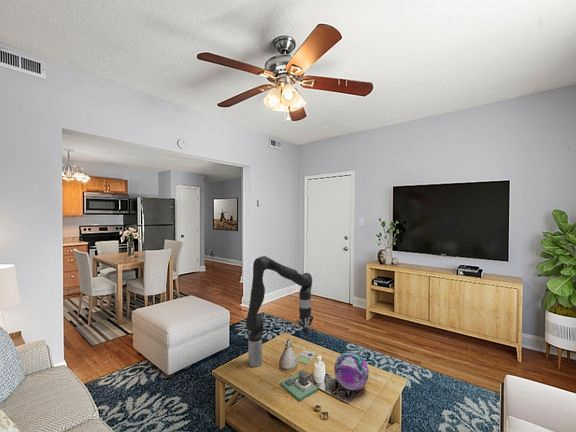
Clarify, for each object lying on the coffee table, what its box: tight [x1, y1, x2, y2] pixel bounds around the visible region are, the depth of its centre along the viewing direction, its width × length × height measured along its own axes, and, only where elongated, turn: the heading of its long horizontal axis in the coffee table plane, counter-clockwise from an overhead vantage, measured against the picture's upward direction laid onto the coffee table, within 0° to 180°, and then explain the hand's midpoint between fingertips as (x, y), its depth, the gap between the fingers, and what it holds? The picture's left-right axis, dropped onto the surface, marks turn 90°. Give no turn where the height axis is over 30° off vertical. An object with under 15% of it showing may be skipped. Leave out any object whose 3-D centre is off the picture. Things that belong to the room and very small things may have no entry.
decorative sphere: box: [333, 351, 370, 391], centre depth 162 cm, size 20×20×20 cm
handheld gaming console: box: [296, 350, 317, 365], centre depth 195 cm, size 10×2×15 cm
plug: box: [297, 369, 309, 387], centre depth 161 cm, size 5×4×8 cm
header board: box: [279, 373, 319, 402], centre depth 162 cm, size 18×14×4 cm
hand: (305, 333), depth 170 cm, fingers closed
